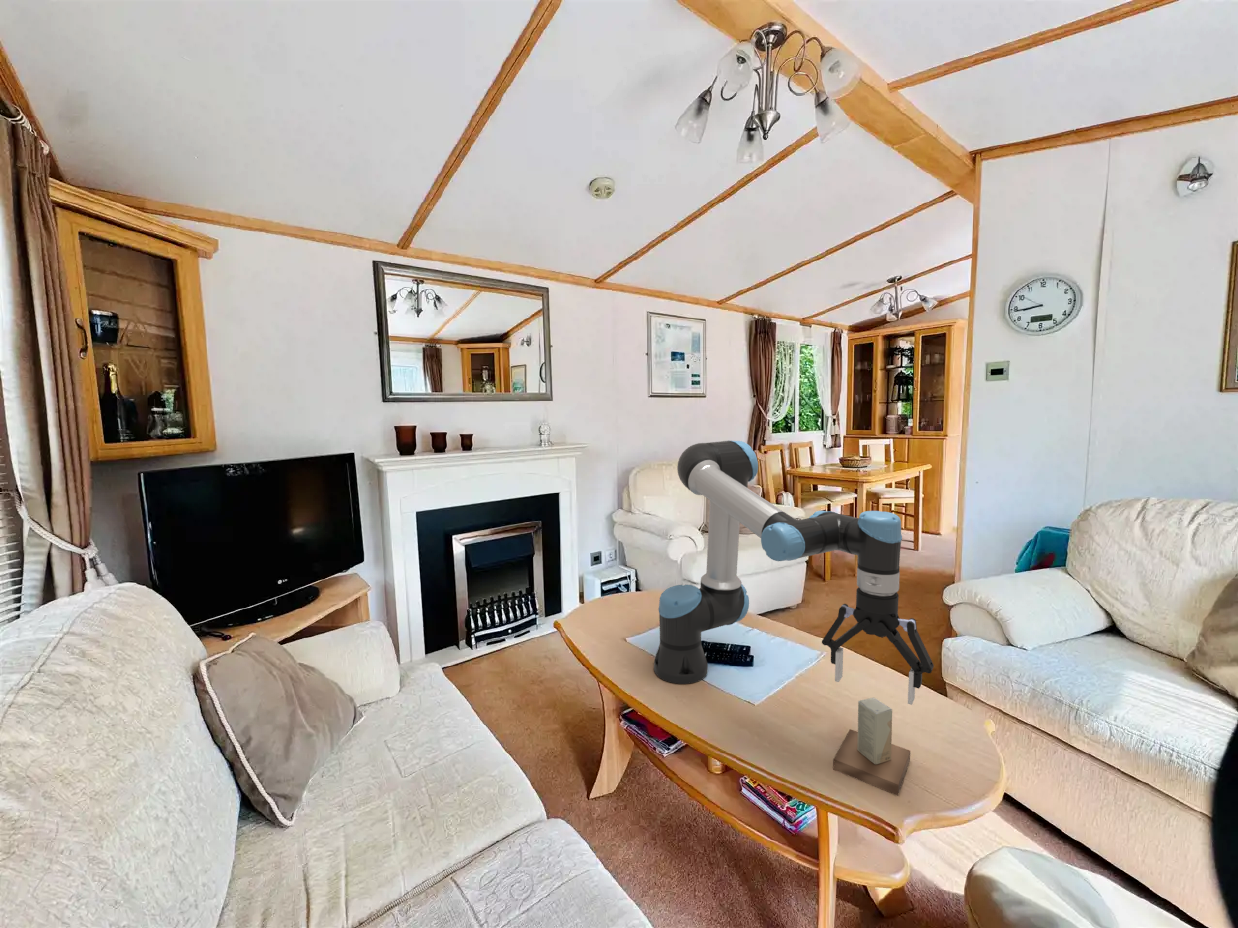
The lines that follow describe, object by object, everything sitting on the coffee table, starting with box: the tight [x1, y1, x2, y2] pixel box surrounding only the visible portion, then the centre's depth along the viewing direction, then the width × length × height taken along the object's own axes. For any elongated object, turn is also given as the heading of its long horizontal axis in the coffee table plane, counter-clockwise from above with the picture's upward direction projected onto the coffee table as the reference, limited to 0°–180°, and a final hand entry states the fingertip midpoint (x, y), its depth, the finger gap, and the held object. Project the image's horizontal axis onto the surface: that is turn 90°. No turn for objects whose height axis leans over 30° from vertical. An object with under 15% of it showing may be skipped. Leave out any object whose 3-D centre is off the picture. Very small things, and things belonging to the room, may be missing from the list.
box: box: [857, 697, 893, 764], centre depth 107 cm, size 5×4×11 cm
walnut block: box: [832, 728, 911, 797], centre depth 108 cm, size 12×12×3 cm
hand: (873, 689), depth 106 cm, fingers open, 13 cm apart
